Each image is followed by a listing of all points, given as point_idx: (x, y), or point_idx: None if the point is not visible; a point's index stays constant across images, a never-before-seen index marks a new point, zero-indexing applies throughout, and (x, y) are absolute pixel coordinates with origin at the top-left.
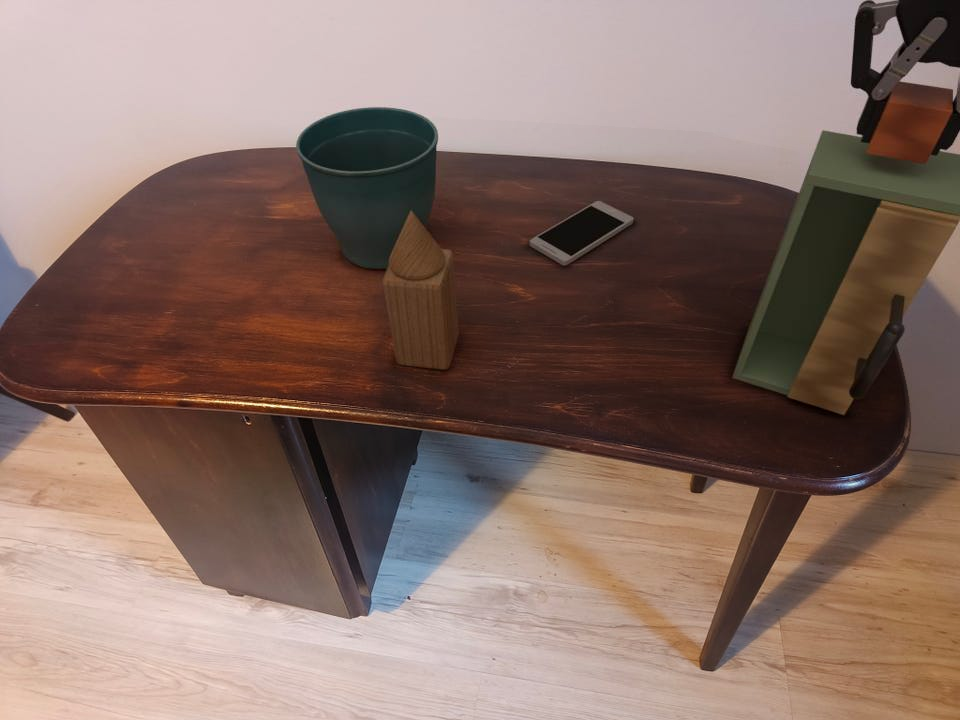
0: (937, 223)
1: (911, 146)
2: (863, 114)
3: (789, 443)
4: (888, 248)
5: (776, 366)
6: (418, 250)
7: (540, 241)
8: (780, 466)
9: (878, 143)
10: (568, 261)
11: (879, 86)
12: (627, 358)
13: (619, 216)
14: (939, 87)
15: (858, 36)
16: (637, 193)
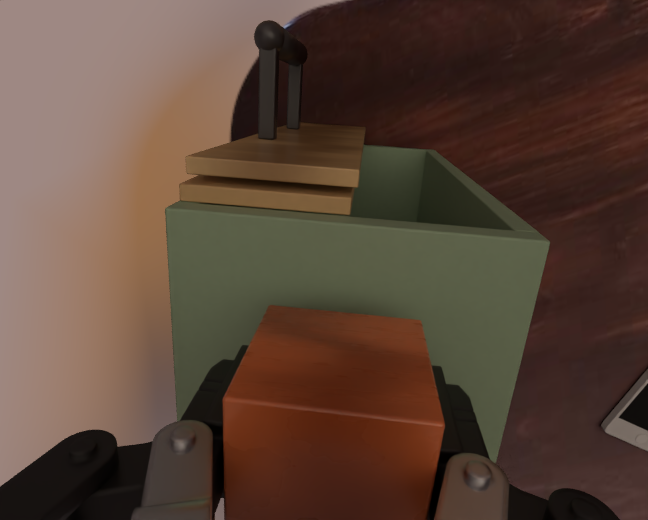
0: (224, 160)
1: (316, 328)
2: (475, 426)
3: (353, 57)
4: (307, 153)
5: (382, 183)
6: None
7: None
8: (361, 9)
9: (404, 334)
10: None
11: (494, 497)
12: (585, 133)
13: (628, 429)
14: None
15: None
16: (597, 491)
